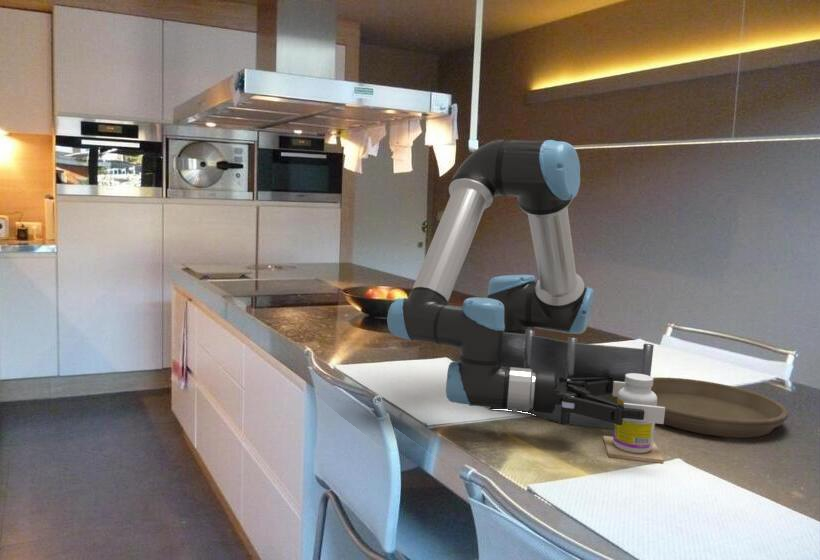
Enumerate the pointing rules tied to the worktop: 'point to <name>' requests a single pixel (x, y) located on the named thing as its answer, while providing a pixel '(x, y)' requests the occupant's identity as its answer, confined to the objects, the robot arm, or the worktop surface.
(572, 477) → the worktop surface
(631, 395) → the supplement bottle
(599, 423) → the grey ribbed panel
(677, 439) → the worktop surface
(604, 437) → the coaster
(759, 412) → the plant saucer
